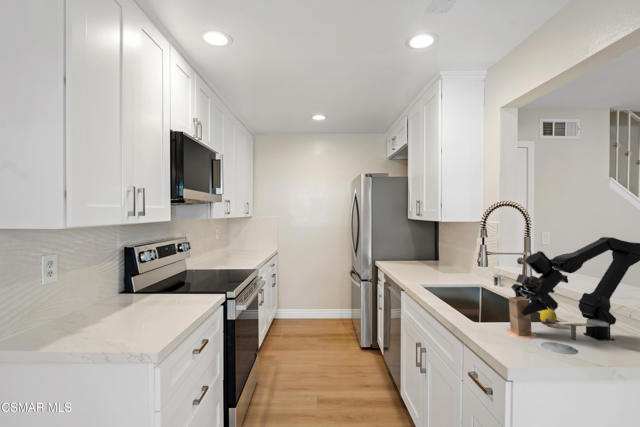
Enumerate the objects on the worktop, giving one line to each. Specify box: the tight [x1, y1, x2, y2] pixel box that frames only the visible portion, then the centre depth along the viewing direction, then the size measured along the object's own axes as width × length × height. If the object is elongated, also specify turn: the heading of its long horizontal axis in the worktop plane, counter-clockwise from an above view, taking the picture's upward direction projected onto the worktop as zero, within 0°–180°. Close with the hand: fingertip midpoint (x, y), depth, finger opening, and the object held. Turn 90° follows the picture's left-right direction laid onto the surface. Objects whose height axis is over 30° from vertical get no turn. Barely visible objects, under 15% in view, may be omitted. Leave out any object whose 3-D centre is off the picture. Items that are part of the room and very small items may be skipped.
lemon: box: [539, 307, 557, 328], centre depth 130 cm, size 6×6×8 cm
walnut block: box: [508, 296, 533, 336], centre depth 118 cm, size 5×5×13 cm
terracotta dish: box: [505, 328, 538, 340], centre depth 118 cm, size 10×10×1 cm
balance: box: [540, 318, 609, 341], centre depth 113 cm, size 19×6×9 cm, turn 53°
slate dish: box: [540, 341, 579, 355], centre depth 105 cm, size 10×10×1 cm
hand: (517, 311), depth 118 cm, fingers open, 6 cm apart
